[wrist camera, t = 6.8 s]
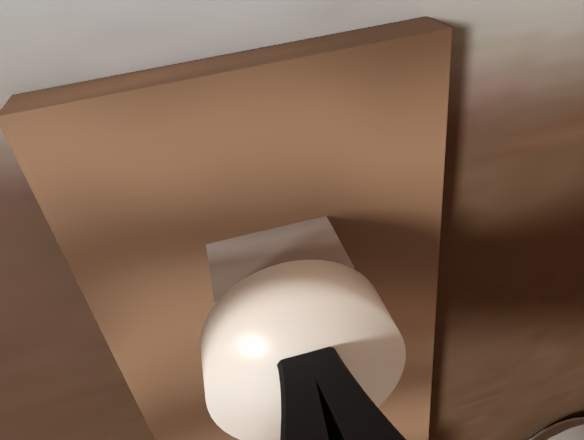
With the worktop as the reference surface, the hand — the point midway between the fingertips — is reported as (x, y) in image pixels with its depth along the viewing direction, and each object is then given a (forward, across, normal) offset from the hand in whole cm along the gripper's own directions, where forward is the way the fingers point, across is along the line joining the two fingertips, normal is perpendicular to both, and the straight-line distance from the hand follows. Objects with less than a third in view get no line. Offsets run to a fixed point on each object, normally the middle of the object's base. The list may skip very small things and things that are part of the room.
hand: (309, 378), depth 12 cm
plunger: (+4, 0, 0) cm, 4 cm away
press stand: (+6, 0, +6) cm, 9 cm away
